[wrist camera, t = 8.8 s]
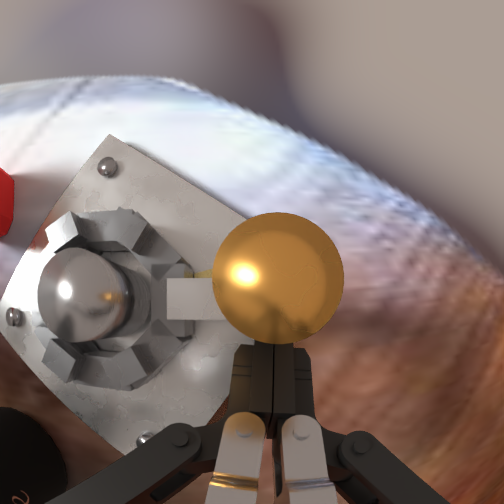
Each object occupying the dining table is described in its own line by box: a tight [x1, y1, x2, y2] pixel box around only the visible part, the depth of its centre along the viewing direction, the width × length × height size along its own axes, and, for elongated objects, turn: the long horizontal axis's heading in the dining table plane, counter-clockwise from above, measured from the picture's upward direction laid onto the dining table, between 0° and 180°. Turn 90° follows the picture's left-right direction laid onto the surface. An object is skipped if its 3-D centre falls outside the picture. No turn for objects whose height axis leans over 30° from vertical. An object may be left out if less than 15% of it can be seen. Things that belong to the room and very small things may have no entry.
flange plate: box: [0, 134, 254, 455], centre depth 18 cm, size 20×20×8 cm
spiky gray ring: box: [21, 207, 344, 391], centre depth 14 cm, size 17×11×13 cm, turn 91°
